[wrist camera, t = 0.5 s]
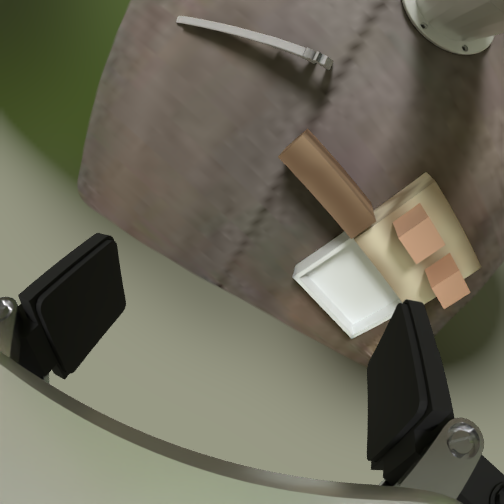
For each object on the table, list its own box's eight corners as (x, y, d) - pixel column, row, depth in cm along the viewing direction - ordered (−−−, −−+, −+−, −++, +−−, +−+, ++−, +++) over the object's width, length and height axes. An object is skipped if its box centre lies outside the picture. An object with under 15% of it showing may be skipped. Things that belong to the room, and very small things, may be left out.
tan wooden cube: (449, 252, 32) (459, 270, 29) (461, 274, 33) (470, 292, 29) (424, 269, 34) (431, 288, 31) (437, 289, 35) (443, 309, 32)
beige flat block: (425, 171, 32) (435, 181, 29) (471, 252, 35) (481, 267, 32) (352, 225, 38) (353, 239, 35) (405, 295, 41) (409, 312, 38)
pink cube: (419, 202, 30) (428, 216, 27) (435, 228, 31) (445, 244, 28) (392, 222, 32) (398, 237, 29) (409, 246, 33) (416, 264, 30)
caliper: (333, 63, 29) (333, 56, 24) (329, 70, 30) (329, 66, 24) (179, 16, 30) (154, 7, 24) (177, 23, 30) (151, 15, 25)
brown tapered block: (307, 128, 34) (302, 135, 29) (371, 202, 36) (376, 221, 31) (286, 146, 36) (277, 156, 31) (349, 218, 38) (351, 239, 33)
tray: (352, 225, 38) (353, 235, 36) (405, 295, 41) (408, 308, 38) (295, 265, 43) (292, 277, 41) (351, 325, 46) (351, 338, 44)
